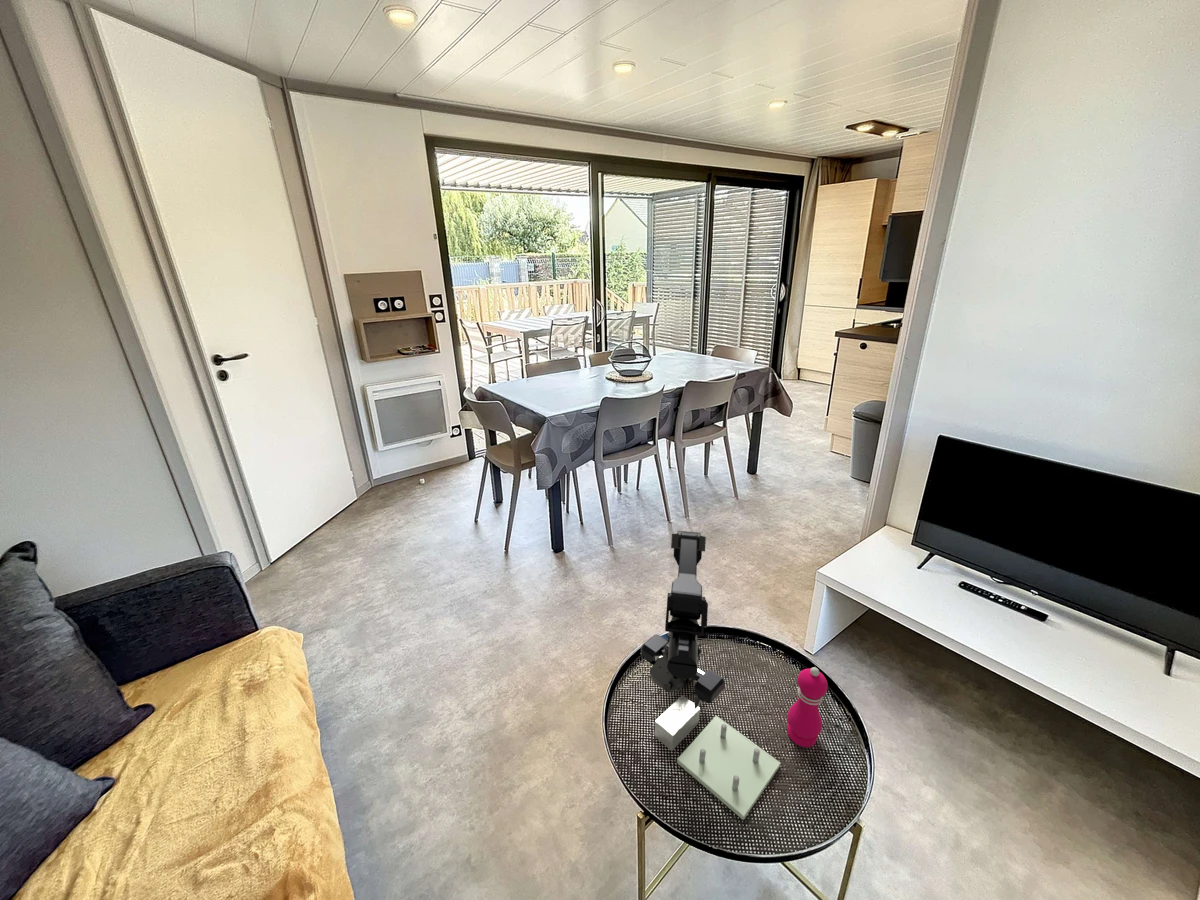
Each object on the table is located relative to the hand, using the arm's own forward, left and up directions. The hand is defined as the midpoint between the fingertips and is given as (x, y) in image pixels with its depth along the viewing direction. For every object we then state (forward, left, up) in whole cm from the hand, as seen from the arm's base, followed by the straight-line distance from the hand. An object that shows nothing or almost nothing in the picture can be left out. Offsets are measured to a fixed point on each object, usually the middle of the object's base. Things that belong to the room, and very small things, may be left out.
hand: (679, 694), depth 107 cm
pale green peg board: (+13, +1, -11) cm, 17 cm away
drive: (0, 0, -11) cm, 11 cm away
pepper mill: (+21, +19, -11) cm, 30 cm away
